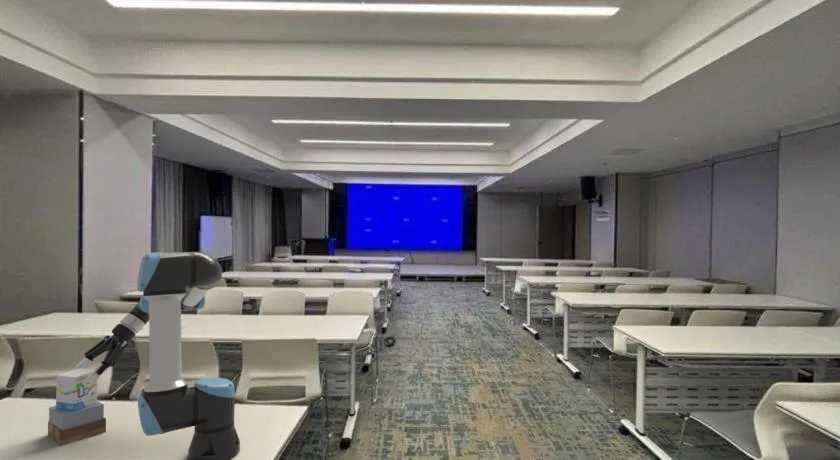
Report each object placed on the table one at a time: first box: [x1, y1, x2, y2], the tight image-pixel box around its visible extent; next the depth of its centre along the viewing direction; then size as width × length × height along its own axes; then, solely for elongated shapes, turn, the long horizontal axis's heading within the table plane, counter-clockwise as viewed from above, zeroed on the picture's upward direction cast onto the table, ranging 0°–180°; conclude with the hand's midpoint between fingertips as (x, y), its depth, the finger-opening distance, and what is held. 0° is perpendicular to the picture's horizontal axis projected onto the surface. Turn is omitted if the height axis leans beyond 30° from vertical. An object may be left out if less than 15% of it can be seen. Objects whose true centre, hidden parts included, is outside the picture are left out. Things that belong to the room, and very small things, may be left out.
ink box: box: [55, 368, 98, 411], centre depth 158 cm, size 9×8×12 cm
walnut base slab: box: [47, 417, 107, 447], centre depth 158 cm, size 13×13×5 cm
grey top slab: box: [48, 400, 105, 431], centre depth 158 cm, size 12×12×5 cm
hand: (80, 378), depth 159 cm, fingers open, 13 cm apart
